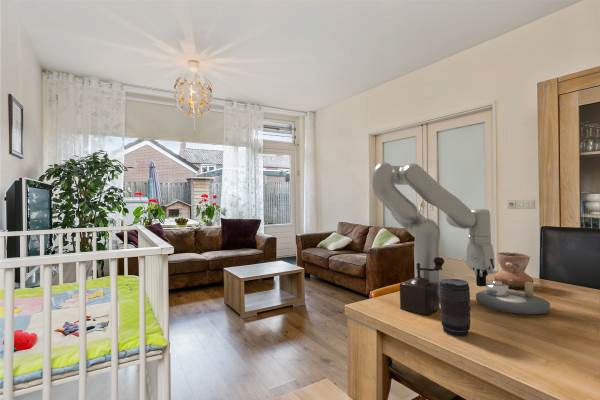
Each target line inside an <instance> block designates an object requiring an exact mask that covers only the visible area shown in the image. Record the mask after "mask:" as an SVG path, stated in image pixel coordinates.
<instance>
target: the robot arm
mask: <svg viewBox="0 0 600 400" xmlns="http://www.w3.org/2000/svg"><path fill="white" fill-rule="evenodd" d="M371 177H372V181H371V184H372V190H373V193H374V195H375V196H376V197H377V199H378V200H379V201H380V202H381V203H382V204H383V205H384V207H385V208H386V209H387V210H388V211H390V213H391V216H392V218H393V219H394V220H395V221H396V222H397V223H398V224H399V225H400V226H401V227H402V228H404V230H406V231H407V232H408V233H409V234H410V235H411V236H412V237H414V244H413V246H414V247H413V261H414V262H413V263H414V267H413V268H414V269H413V270H414V278H416V277H417V269H416V267H417V265H416V264H417V263H420V268H427V269H434V267H435V263H434V262H433V260H434V258H436V257H440V242H441V241H440V240H441V229H440V227H439V225H438V223H437V222H436V221H435V220H433V219H432V218H429V217H428V218H427V217H425V216H423V215H422V214H421V212H419V210H418V207H417V205H416V204H415V203H414V202H413V201H411V200H410V199H409V198H407V196H405V195H404V194H403V193H402V192H401V191H400V190H399V188H397V186H401V185H403V186H406V185H408V186H409V188H411V189H412V190H414V191H415V193H417V194H418V195H419V197H421V198H422V199H423V201H424V202H426V203H428V204H429V205H431V206H434V207H435V208H437V209H439V210H440V211H441V212H443V213H444V214H445V215H446V216H445V217H446V218H445V219H446V222H447V223H448V225H450V226H451V227H454V228H459V229H463V230H468V239H469V241H468V242H467V245H466V252H465V254H466V256H465V263H466V266H467V267H468V268H469V269H470V270H472V271H473V272H474V275H475V276H476V277H475V278H476V279H475V280H476V282H475V283H476V286H477V287H481V288H482V287H486V284H487V277H488V275H490V274H494V269H495V266H496V265H495V264H496V263H495V260H496V259H495V252H494V247H493V244H492V236H491V235H492V232H491V227H492V226H491V212H490V210H489V209H487V208H486V209H485V208H477V209H476V208H475V209H470V208H469V207H468V206H467V205H466V204H465V202H463V201H462V200H461V199H459V198H458V197H457V196H455V195H454V194H452V193H451V192H450V191H448V190H447V189H446V188H445V187H443V186H442V185H441V184H440V183H439V182H438V181H436V179H434V178H433V177H432V176H431V175H430V174H429V173H428V172H427V171H425V169H424V168H423V167H421V165H419V164H417V163H414V162H413V163H408V164H405V165H392V164H390V163H388V162H385V161H384V162H380V163H378V164H376V166H375V167H374V168H373V170H371ZM396 185H397V186H396ZM440 273H441V270H439V271H426V270H420V276H421V277H422V278H425V279H429V281H431V282H437V283H439V285H440V280H441V277H440ZM439 301H440V293H439Z"/></svg>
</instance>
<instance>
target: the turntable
mask: <svg viewBox="0 0 600 400" xmlns="http://www.w3.org/2000/svg"><path fill="white" fill-rule="evenodd" d="M508 291H509V296H507V297H497V296H491V295H488V294H487V289H486V290H481V291H477V292H476V293H475V300H476V302H477V303H479V304H480V305H481V306H482V305H483V306H484V307H488V308H490V309H494V310H497V311H502V312H507V313H514V314H523V315H524V314H525V315H538V314H539V315H540V314H546V313H548V312H550V311H551V303H550V302H549V301H548V300H546V299H545V298H542V297H539V296H536V295H534V282H533V283H532V282H525V288H524V292H520V291H514V290H513V291H512V290H508Z"/></svg>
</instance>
